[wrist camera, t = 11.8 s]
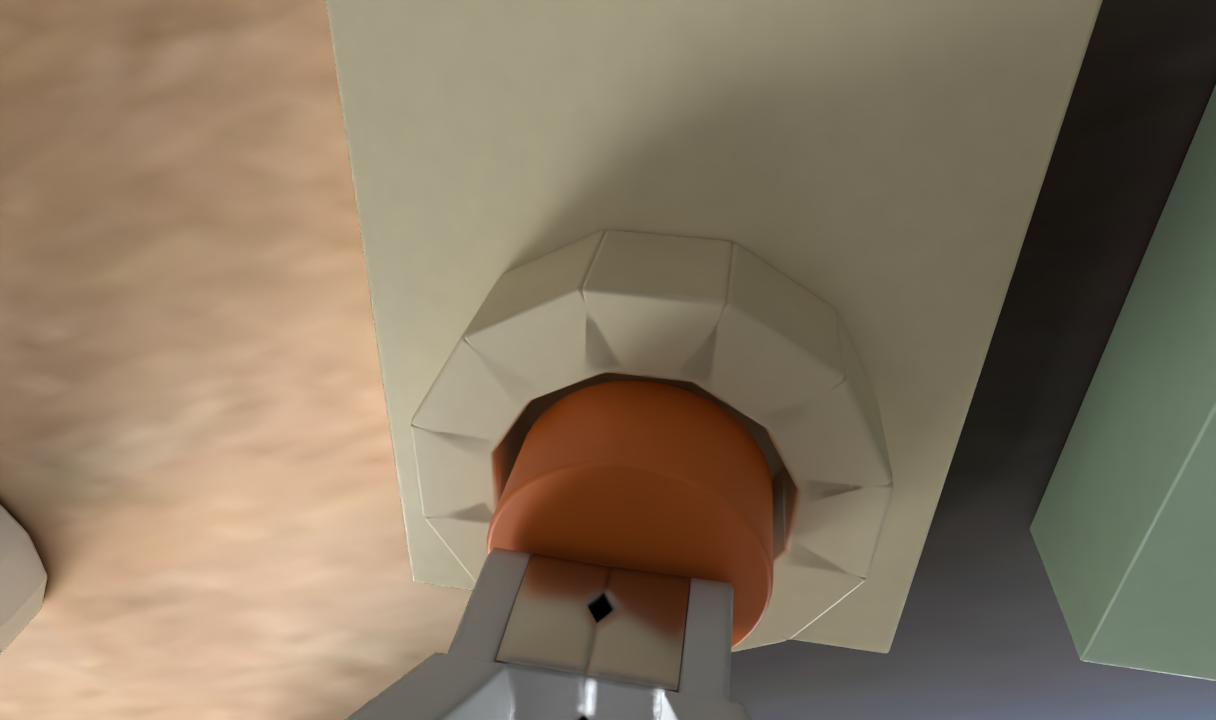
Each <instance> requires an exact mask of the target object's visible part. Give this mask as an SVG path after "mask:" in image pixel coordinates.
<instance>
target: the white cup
mask: <svg viewBox="0 0 1216 720" xmlns="http://www.w3.org/2000/svg"><path fill="white" fill-rule="evenodd" d="M46 582H47V573H46V571H45V568H44V566H43V564H42V562H41V559H40V557H39V555H38V553H37V551H36V548H35V546H34V544H33V542H32V540H31V538H30V536H29V534H28V533H27V532H26V531H25V529H24V528H23V527H22V526H21V525H20V524H19V523H18V522H17V521H16V520H15V519H14V518H13V517H12V516H11V515H10V514H9V513H8V512H7V511H6V510H5V508H4V507H3V506H2V505H1V504H0V655H1V654H2V653H3V652H4V650H5V649H6V648H7V647H8V646H9V645H10V644H11V643H12V642H13V640H14V639H15V638H16V637H17V636H18V635H19V634H20V633H21V631H22V630H23V629H24V628H25V627H26V626H27V625H28V624H29V622H30V621H31V620H32V619H33V618H34V617H35V616H36V614H37V613H38V612H39V611H40V609H41V607H42V603H43V598H44V593H45V587H46Z"/></svg>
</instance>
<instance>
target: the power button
mask: <svg viewBox="0 0 1216 720" xmlns="http://www.w3.org/2000/svg"><path fill="white" fill-rule="evenodd" d="M494 547H495V548H501V549H507V550H513V551H518V552H524V553H530V554H539V555H545V556H551V557H556V558H562V559H568V560H573V561H579V562H585V563H590V564H596V565H602V566H607V567H611V566H613V567H621V568H628V569H635V570H642V571H649V572H657V573H664V574H671V575H678V576H685V577H690V580H691V578H698V579H705V580H712V581H719V582H726V583H731V584H732V587H733V589H734V599H733V621H732V643H731V649H732V648H733V647H735V646H736V645H738V644H739V643H741V642H742V641H743V640H744V639H745V638H746V637H747V636H748V635H749V634H750V633H752V631H753V630H754V629H755V628H756V626H757V625H758V624H759V622H760V621H761V619H762V617H763V615H764V614H765V612H766V610H767V608H768V605H769V602H770V598H771V595H772V588H773V489H772V478H771V474H770V470H769V466H768V463H767V461H766V459H765V457H764V454H763V452H762V450H761V449H760V447H759V446H758V444H757V442H756V441H755V439H754V438H753V437H752V435H751V434H750V433H749V432H748V431H747V430H746V428H745V427H744V426H743V425H742V424H741V423H740V422H739V421H738V420H737V419H736V418H734V417H733V416H732V415H731V414H730V413H728V412H727V411H726V410H724V409H723V408H721V407H720V406H719V405H717V404H715V403H714V402H712V401H710V400H708V399H706V398H704V397H702V396H700V395H698V394H695V393H693V392H691V391H688V390H686V389H682V388H679V387H675V386H672V385H668V384H663V383H657V382H651V381H637V380H627V381H613V382H607V383H601V384H596V385H593V386H590V387H586V388H583V389H580V390H578V391H576V392H574V393H571V394H569V395H567V396H566V397H564V398H562V399H561V400H559V401H557V402H556V403H554V404H553V405H552V406H551V407H549V408H548V409H547V410H546V411H545V412H543V413H542V415H541V416H540V417H539V418H538V419H537V420H536V421H535V423H534V424H533V426H532V427H531V429H530V430H529V432H528V434H527V436H526V438H525V440H524V443H523V445H522V448H521V450H520V453H519V455H518V457H517V460H516V462H515V465H514V467H513V469H512V472H511V474H510V477H509V479H508V481H507V484H506V486H505V489H504V491H503V494H502V496H501V498H500V501H499V503H498V506H497V508H496V510H495V513H494V515H493V518H492V520H491V523H490V525H489V530H488V535H487V556H488V555H489V553H490V552H491V551H492V550H493V548H494ZM689 584H690V583H689Z"/></svg>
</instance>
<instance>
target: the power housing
mask: <svg viewBox="0 0 1216 720" xmlns="http://www.w3.org/2000/svg"><path fill="white" fill-rule="evenodd" d="M1101 4H1102V0H326V6H327V12H328V19H329V26H330V32H331V39H332V46H333V52H334V59H335V66H336V73H337V79H338V86H339V93H340V99H341V106H342V113H343V119H344V126H345V133H346V139H347V146H348V153H349V159H350V166H351V173H352V179H353V186H354V193H355V199H356V206H357V213H358V219H359V226H360V233H361V239H362V246H363V253H364V259H365V266H366V273H367V280H368V286H369V293H370V300H371V306H372V313H373V320H374V326H375V333H376V340H377V346H378V353H379V360H380V366H381V373H382V380H383V386H384V393H385V400H386V406H387V413H388V420H389V426H390V433H391V440H392V446H393V453H394V460H395V467H396V473H397V480H398V487H399V493H400V500H401V507H402V513H403V520H404V527H405V533H406V540H407V547H408V553H409V560H410V567H411V573H412V579H413V581H415V582H419V583H426V584H432V585H439V586H446V587H452V588H459V589H465V590H472V591H473V589H474V587H475V584H476V582H477V579H478V577H479V574H480V572H481V569H482V567H483V565H484V562H485V560H486V557H487V535H488V530H489V525H490V523H491V520H492V518H493V515H494V513H495V510H496V508H497V506H498V503H499V501H500V498H501V496H502V494H503V491H504V489H505V486H506V484H507V481H508V479H509V477H510V474H511V472H512V469H513V467H514V465H515V462H516V460H517V457H518V455H519V453H520V450H521V448H522V445H523V443H524V440H525V438H526V436H527V434H528V432H529V430H530V429H531V427H532V426H533V424H534V423H535V421H536V420H537V419H538V418H539V417H540V416H541V415H542V413H543V412H545V411H546V410H547V409H548V408H549V407H551V406H552V405H553V404H554V403H556V402H557V401H559V400H561V399H562V398H564V397H566V396H567V395H569V394H571V393H574V392H576V391H578V390H580V389H583V388H586V387H590V386H593V385H596V384H601V383H607V382H613V381H627V380H637V381H651V382H657V383H663V384H668V385H672V386H675V387H679V388H682V389H686V390H688V391H691V392H693V393H695V394H698V395H700V396H702V397H704V398H706V399H708V400H710V401H712V402H714V403H715V404H717V405H719V406H720V407H721V408H723V409H724V410H726V411H727V412H728V413H730V414H731V415H732V416H733V417H734V418H736V419H737V420H738V421H739V422H740V423H741V424H742V425H743V426H744V427H745V428H746V430H747V431H748V432H749V433H750V434H751V435H752V437H753V438H754V439H755V441H756V442H757V444H758V446H759V447H760V449H761V450H762V452H763V454H764V457H765V459H766V461H767V463H768V466H769V470H770V474H771V478H772V489H773V588H772V595H771V598H770V602H769V605H768V608H767V610H766V612H765V614H764V615H763V617H762V619H761V621H760V622H759V624H758V625H757V626H756V628H755V629H754V630H753V631H752V633H750V634H749V635H748V636H747V637H746V638H745V639H744V640H743V641H742V642H741V643H739V644H738V645H736V646H735V647H733V648H732V649H731V652H735V651H739V650H744V649H749V648H754V647H759V646H764V645H769V644H774V643H778V642H783V641H785V640H787V639H794V640H801V641H807V642H814V643H820V644H827V645H834V646H840V647H847V648H853V649H860V650H866V651H873V652H880V653H888V652H889V650H890V647H891V644H892V641H893V638H894V635H895V632H896V629H897V626H898V623H899V620H900V617H901V614H902V611H903V607H904V604H905V601H906V598H907V595H908V592H909V589H910V586H911V583H912V580H913V577H914V574H915V571H916V568H917V565H918V562H919V559H920V556H921V553H922V550H923V546H924V543H925V540H926V537H927V534H928V531H929V528H930V525H931V522H932V519H933V516H934V513H935V510H936V507H937V504H938V501H939V498H940V495H941V492H942V489H943V485H944V482H945V479H946V476H947V473H948V470H949V467H950V464H951V461H952V458H953V455H954V452H955V449H956V446H957V443H958V440H959V437H960V434H961V431H962V428H963V424H964V421H965V418H966V415H967V412H968V409H969V406H970V403H971V400H972V397H973V394H974V391H975V388H976V385H977V382H978V379H979V376H980V373H981V370H982V367H983V363H984V360H985V357H986V354H987V351H988V348H989V345H990V342H991V339H992V336H993V333H994V330H995V327H996V324H997V321H998V318H999V315H1000V312H1001V309H1002V305H1003V302H1004V299H1005V296H1006V293H1007V290H1008V287H1009V284H1010V281H1011V278H1012V275H1013V272H1014V269H1015V266H1016V263H1017V260H1018V257H1019V254H1020V251H1021V248H1022V244H1023V241H1024V238H1025V235H1026V232H1027V229H1028V226H1029V223H1030V220H1031V217H1032V214H1033V211H1034V208H1035V205H1036V202H1037V199H1038V196H1039V193H1040V190H1041V187H1042V183H1043V180H1044V177H1045V174H1046V171H1047V168H1048V165H1049V162H1050V159H1051V156H1052V153H1053V150H1054V147H1055V144H1056V141H1057V138H1058V135H1059V132H1060V129H1061V126H1062V122H1063V119H1064V116H1065V113H1066V110H1067V107H1068V104H1069V101H1070V98H1071V95H1072V92H1073V89H1074V86H1075V83H1076V80H1077V77H1078V74H1079V71H1080V68H1081V65H1082V61H1083V58H1084V55H1085V52H1086V49H1087V46H1088V43H1089V40H1090V37H1091V34H1092V31H1093V28H1094V25H1095V22H1096V19H1097V16H1098V13H1099V10H1100V7H1101Z"/></svg>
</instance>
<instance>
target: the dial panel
mask: <svg viewBox="0 0 1216 720" xmlns="http://www.w3.org/2000/svg"><path fill="white" fill-rule="evenodd" d="M1030 531H1031V533H1032V536H1033V538H1034V541H1035V544H1036V546H1037V549H1038V551H1039V554H1040V556H1041V559H1042V562H1043V564H1044V567H1045V569H1046V572H1047V575H1048V577H1049V580H1050V582H1051V585H1052V587H1053V590H1054V593H1055V595H1056V598H1057V600H1058V603H1059V606H1060V608H1061V611H1062V613H1063V616H1064V618H1065V621H1066V624H1067V626H1068V629H1069V631H1070V634H1071V637H1072V639H1073V642H1074V644H1075V647H1076V649H1077V652H1078V655H1079V657H1080V659H1081V660H1082V661H1087V662H1094V663H1100V664H1107V665H1114V666H1120V667H1127V668H1134V669H1141V670H1147V671H1154V672H1161V673H1168V674H1174V675H1181V676H1188V677H1194V678H1201V679H1208V680H1215V681H1216V85H1215V88H1214V90H1213V92H1212V95H1211V97H1210V100H1209V102H1208V104H1207V107H1206V109H1205V111H1204V114H1203V116H1202V119H1201V121H1200V123H1199V126H1198V128H1197V131H1196V133H1195V135H1194V138H1193V140H1192V143H1191V145H1190V147H1189V150H1188V152H1187V154H1186V157H1185V159H1184V162H1183V164H1182V166H1181V169H1180V171H1179V174H1178V176H1177V178H1176V181H1175V183H1174V185H1173V188H1172V190H1171V193H1170V195H1169V197H1168V200H1167V202H1166V205H1165V207H1164V209H1163V212H1162V214H1161V216H1160V219H1159V221H1158V224H1157V226H1156V228H1155V231H1154V233H1153V236H1152V238H1151V240H1150V243H1149V245H1148V247H1147V250H1146V252H1145V255H1144V257H1143V259H1142V262H1141V264H1140V267H1139V269H1138V271H1137V274H1136V276H1135V278H1134V281H1133V283H1132V286H1131V288H1130V290H1129V293H1128V295H1127V298H1126V300H1125V302H1124V305H1123V307H1122V310H1121V312H1120V314H1119V317H1118V319H1117V321H1116V324H1115V326H1114V329H1113V331H1112V333H1111V336H1110V338H1109V341H1108V343H1107V345H1106V348H1105V350H1104V352H1103V355H1102V357H1101V360H1100V362H1099V364H1098V367H1097V369H1096V372H1095V374H1094V376H1093V379H1092V381H1091V383H1090V386H1089V388H1088V391H1087V393H1086V395H1085V398H1084V400H1083V403H1082V405H1081V407H1080V410H1079V412H1078V414H1077V417H1076V419H1075V422H1074V424H1073V426H1072V429H1071V431H1070V434H1069V436H1068V438H1067V441H1066V443H1065V445H1064V448H1063V450H1062V453H1061V455H1060V457H1059V460H1058V462H1057V465H1056V467H1055V469H1054V472H1053V474H1052V477H1051V479H1050V481H1049V484H1048V486H1047V488H1046V491H1045V493H1044V496H1043V498H1042V500H1041V503H1040V505H1039V508H1038V510H1037V512H1036V515H1035V517H1034V519H1033V522H1032V524H1031V527H1030Z"/></svg>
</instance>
